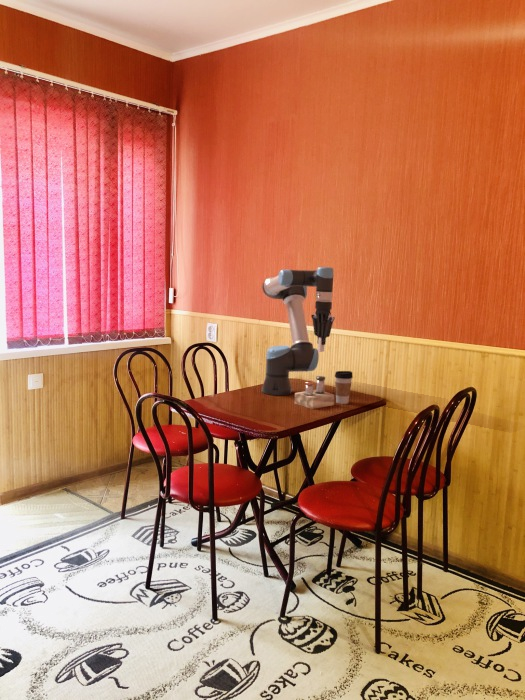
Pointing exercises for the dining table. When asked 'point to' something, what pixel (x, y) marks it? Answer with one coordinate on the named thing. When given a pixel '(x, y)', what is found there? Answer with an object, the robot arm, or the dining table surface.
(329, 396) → the beech block
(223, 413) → the dining table surface
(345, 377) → the coffee cup
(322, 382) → the grey capped glass jar
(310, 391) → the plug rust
